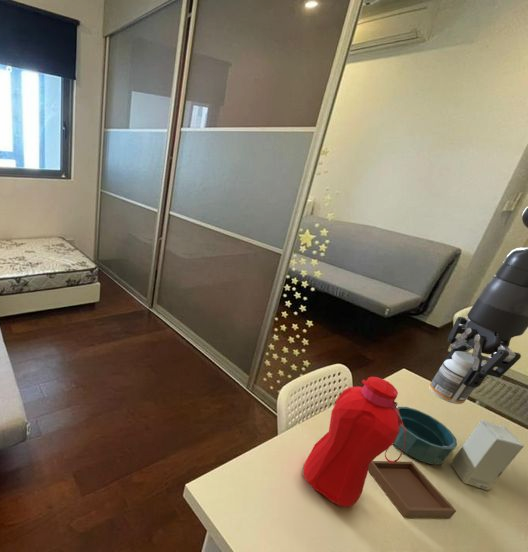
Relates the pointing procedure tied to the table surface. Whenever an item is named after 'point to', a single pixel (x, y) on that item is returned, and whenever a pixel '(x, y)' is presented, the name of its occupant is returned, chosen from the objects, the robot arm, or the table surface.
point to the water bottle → (354, 440)
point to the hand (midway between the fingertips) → (458, 374)
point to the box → (486, 454)
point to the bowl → (424, 437)
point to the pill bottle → (453, 378)
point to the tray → (410, 490)
